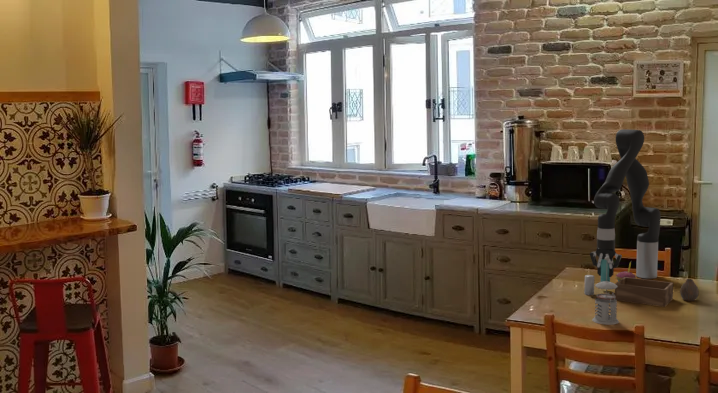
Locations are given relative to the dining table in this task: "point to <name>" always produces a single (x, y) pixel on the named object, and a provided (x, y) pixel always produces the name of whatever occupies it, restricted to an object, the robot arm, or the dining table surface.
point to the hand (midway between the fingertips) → (605, 275)
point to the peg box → (644, 291)
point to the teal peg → (604, 270)
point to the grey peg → (589, 285)
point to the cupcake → (625, 274)
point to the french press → (606, 303)
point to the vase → (689, 290)
